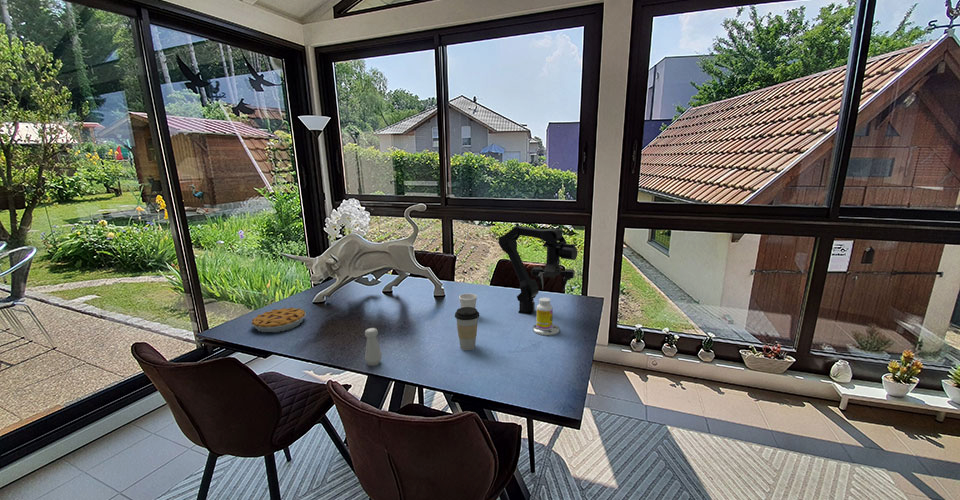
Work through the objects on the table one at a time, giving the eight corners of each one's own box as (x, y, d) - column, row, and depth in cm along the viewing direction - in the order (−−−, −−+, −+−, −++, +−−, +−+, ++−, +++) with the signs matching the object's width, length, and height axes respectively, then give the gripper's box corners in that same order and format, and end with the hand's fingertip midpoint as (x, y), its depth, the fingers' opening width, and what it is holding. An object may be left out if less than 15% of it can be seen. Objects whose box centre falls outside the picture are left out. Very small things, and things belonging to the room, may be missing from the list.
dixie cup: (467, 321, 175) (466, 300, 173) (455, 316, 181) (455, 296, 179) (481, 316, 181) (480, 296, 178) (469, 311, 187) (469, 292, 185)
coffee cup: (461, 354, 144) (460, 316, 141) (451, 344, 152) (450, 308, 149) (484, 349, 148) (483, 312, 145) (473, 339, 156) (472, 304, 153)
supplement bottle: (552, 331, 160) (552, 302, 157) (535, 330, 161) (536, 301, 159) (552, 325, 167) (552, 297, 164) (536, 324, 168) (537, 296, 165)
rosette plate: (529, 326, 168) (529, 324, 168) (552, 323, 171) (552, 321, 171) (539, 337, 158) (539, 334, 157) (563, 333, 160) (563, 331, 160)
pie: (276, 314, 189) (275, 304, 188) (316, 317, 184) (315, 307, 183) (240, 332, 168) (239, 321, 167) (284, 336, 163) (282, 325, 162)
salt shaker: (367, 359, 142) (364, 326, 139) (383, 358, 142) (380, 325, 139) (363, 367, 136) (360, 333, 133) (380, 366, 136) (377, 332, 134)
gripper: (528, 259, 168) (527, 294, 171) (571, 262, 161) (570, 298, 164) (534, 254, 178) (533, 286, 181) (575, 257, 171) (574, 290, 174)
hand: (552, 290), depth 175 cm, fingers open, 9 cm apart
